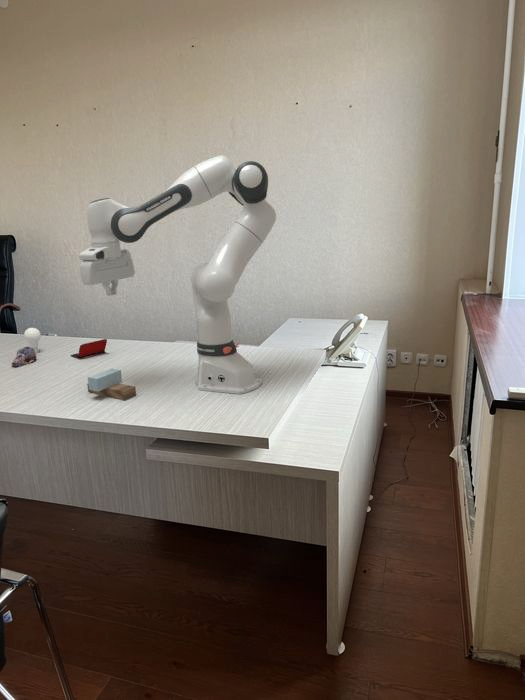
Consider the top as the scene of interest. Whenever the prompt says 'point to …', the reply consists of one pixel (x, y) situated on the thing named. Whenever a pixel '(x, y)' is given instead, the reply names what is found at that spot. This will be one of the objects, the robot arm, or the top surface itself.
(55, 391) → the top surface
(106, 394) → the rail
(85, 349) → the handheld game console
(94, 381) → the block
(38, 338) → the lightbulb
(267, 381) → the top surface
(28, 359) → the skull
